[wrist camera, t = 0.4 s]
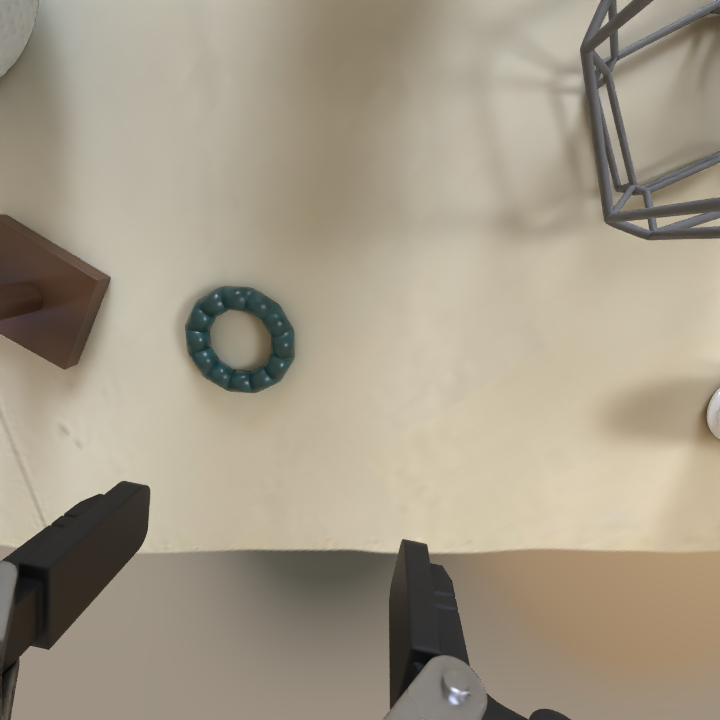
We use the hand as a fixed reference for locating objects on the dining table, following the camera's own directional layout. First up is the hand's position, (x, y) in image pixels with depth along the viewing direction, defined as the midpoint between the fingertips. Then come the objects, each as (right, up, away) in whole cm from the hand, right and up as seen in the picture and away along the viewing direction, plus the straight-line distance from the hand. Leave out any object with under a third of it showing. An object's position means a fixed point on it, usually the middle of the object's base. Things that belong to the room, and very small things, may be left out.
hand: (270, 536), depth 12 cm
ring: (-7, +7, +19) cm, 22 cm away
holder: (-24, +11, +20) cm, 33 cm away
